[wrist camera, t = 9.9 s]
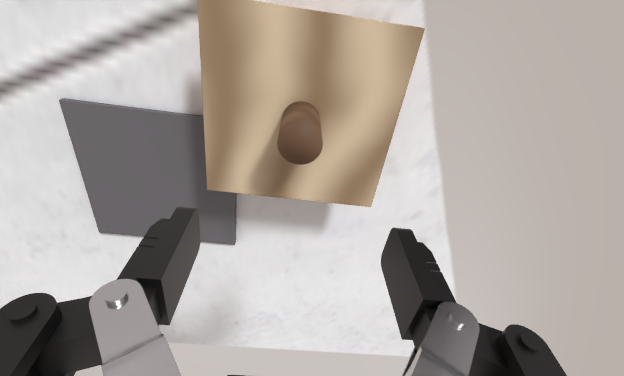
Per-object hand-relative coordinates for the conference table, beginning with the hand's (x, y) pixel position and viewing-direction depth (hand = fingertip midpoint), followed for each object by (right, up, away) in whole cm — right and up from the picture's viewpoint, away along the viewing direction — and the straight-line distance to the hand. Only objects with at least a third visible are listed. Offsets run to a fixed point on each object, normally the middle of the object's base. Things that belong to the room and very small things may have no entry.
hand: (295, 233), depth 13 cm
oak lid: (0, +8, +12) cm, 14 cm away
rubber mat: (-16, +3, +21) cm, 26 cm away
